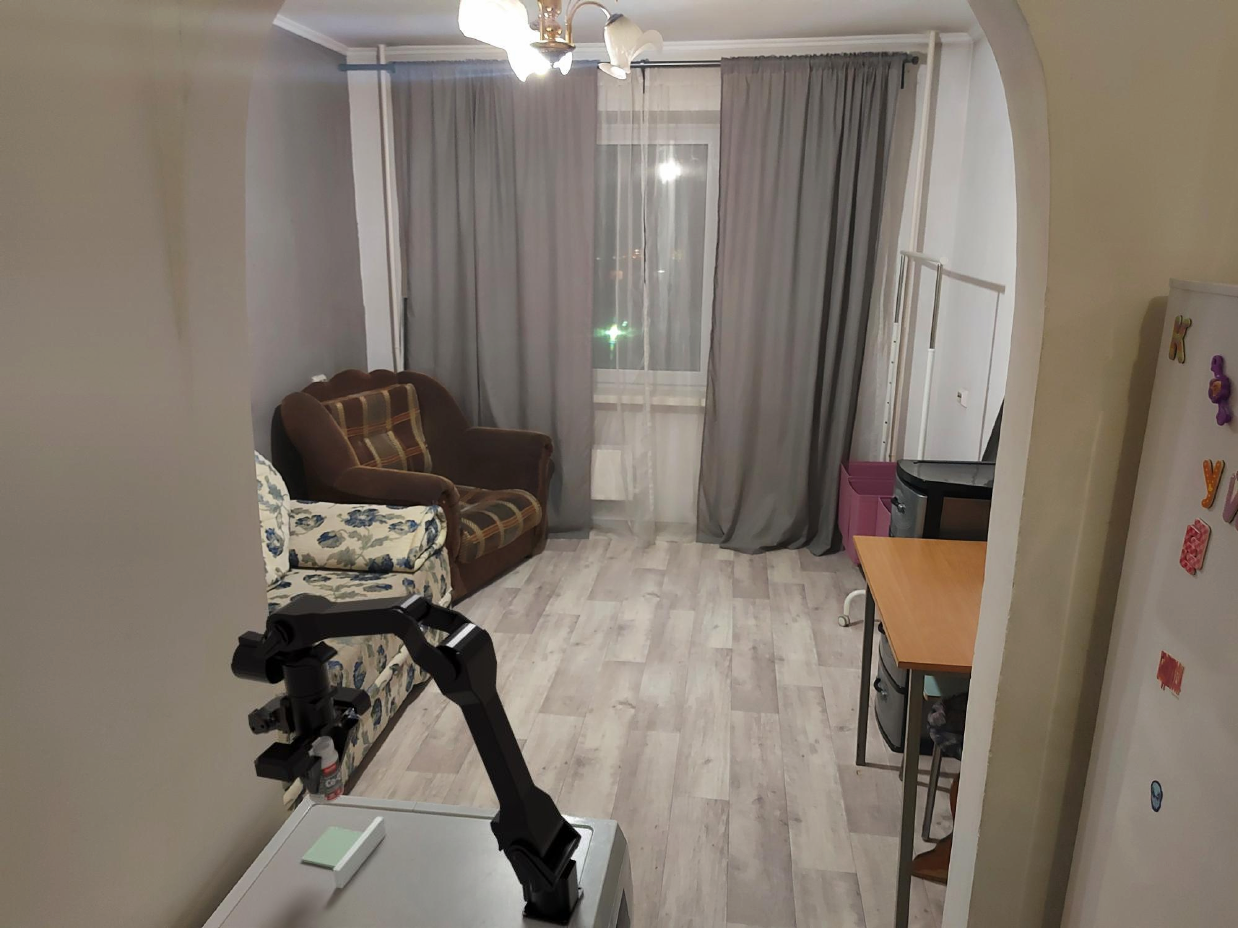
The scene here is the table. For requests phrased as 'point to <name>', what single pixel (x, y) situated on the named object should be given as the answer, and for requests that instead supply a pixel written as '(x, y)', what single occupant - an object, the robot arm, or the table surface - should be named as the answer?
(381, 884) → the table surface
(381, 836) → the acrylic wall
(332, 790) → the pill bottle
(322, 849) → the coaster
